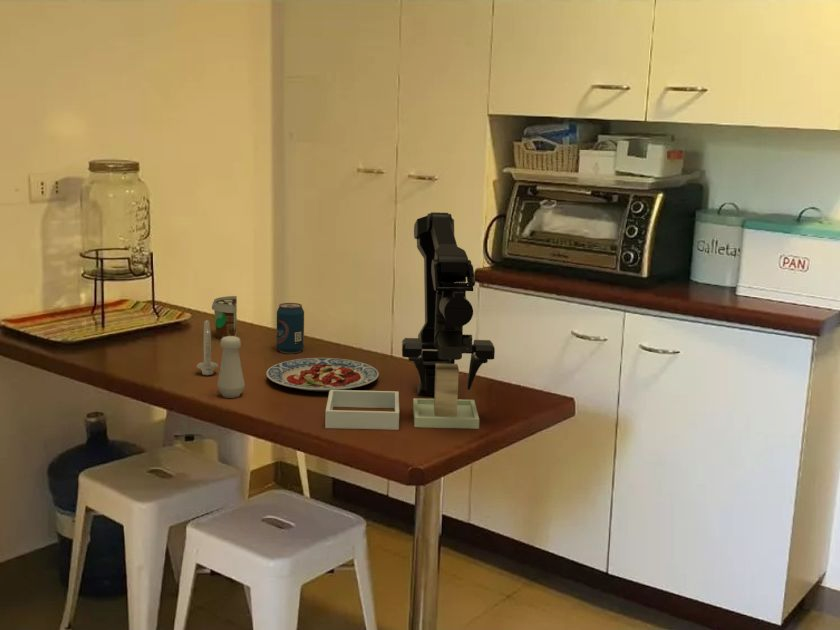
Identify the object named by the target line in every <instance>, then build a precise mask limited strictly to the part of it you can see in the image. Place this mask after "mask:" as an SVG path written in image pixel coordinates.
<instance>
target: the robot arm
mask: <svg viewBox="0 0 840 630" xmlns="http://www.w3.org/2000/svg"><path fill="white" fill-rule="evenodd" d="M455 237H456V236H455V220H454V218H452V214H451V213H449V212H435V211H434V212H432V211H431V212H430V213H427V215H425V216H422V217H419V218H417V219H416V221H415V222H414V225H413V238H414V240H416V248H417V250H418V252H419V253H420V255H421V256H422V258H423V263H424V265H423V273H424V275H423V276H424V277H423V278H424V281H423V283H424V324H423V326H422V327H421V329H420V330H419V332H418V335H417V337H416V338H415V337H404V338H403V339H402V342H401V356H402V358H408V359H407V360H408V361H409V362H413V365H414V367H415V369H417V372H418V376H419V384H417V385H416V387H417V388H416V389H417V396H418V395H419V396H434V393H435V368H436V363H437V364H456V363H455V362H456V361H460V360H461V359H462V358H463V354H468V355H469V354H471V355H470V361H469V367H468V369H469V370H468V376H467V382H466V383H467V391H470V390H471V387H472V384H473V382H474V379H475V378H476V375H477V373H478V372H479V369H480V368H481V366H482V365H483V364H488V362H489V360H495V356H496V355H495V354H496V353H495V352H496V351H495V350H496V349H495V345H494V343H493V341H492V340H489V339H473V334H464V333H463V332H464V331H463V330H464V326H466V325H467V324H469V323H470V322H471V320H472V318H473V315H474V308H473V306H472V303H471V302H470V301H469V300H468V299H467V297H466V295H467V294H466V293H467V292H474V287H475V285H476V280H475V279H476V277H475V272H474V265H473V264H472V261H471V260H470V259H469V257H468V255H467V252H466V251H465V249H463V248H461V247H459V245H458V243H457V241H456V238H455Z"/></svg>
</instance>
